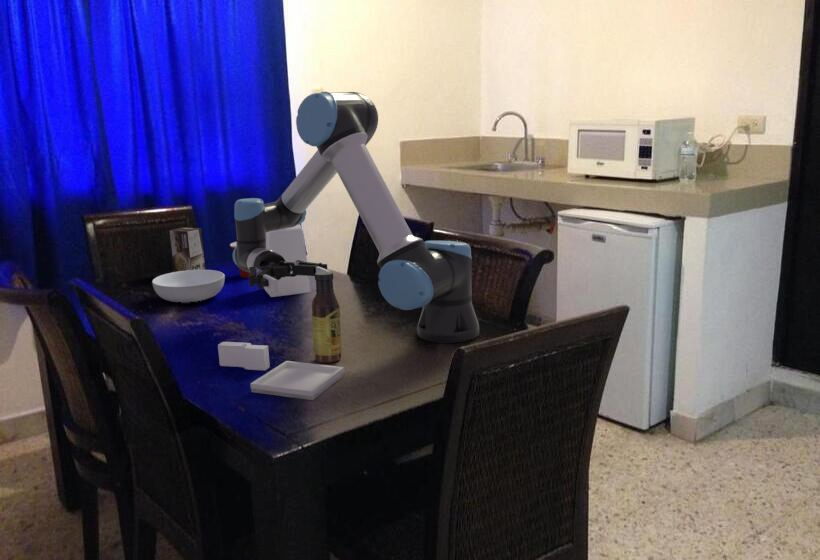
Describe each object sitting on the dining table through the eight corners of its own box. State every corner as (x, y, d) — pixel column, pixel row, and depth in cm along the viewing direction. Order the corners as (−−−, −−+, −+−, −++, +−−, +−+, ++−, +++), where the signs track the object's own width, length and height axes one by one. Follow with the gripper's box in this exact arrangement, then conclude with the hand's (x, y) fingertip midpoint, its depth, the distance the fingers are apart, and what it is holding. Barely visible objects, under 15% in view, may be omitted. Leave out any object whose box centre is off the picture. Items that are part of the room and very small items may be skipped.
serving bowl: (140, 307, 215) (137, 284, 213) (178, 289, 234) (176, 268, 233) (205, 310, 210) (202, 286, 208) (238, 292, 229) (236, 270, 228)
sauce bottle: (337, 364, 162) (332, 276, 158) (310, 363, 164) (304, 276, 159) (346, 355, 169) (341, 270, 164) (319, 353, 170) (314, 269, 165)
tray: (344, 375, 156) (344, 367, 156) (312, 400, 143) (312, 391, 143) (286, 368, 161) (286, 360, 161) (251, 392, 148) (250, 383, 148)
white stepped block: (207, 366, 165) (204, 342, 164) (253, 354, 172) (251, 331, 171) (236, 385, 154) (233, 359, 152) (284, 372, 160) (282, 347, 159)
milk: (301, 284, 236) (296, 203, 230) (310, 292, 226) (304, 207, 220) (264, 288, 232) (257, 206, 226) (271, 297, 222) (264, 210, 216)
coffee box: (206, 274, 254) (202, 228, 250) (192, 278, 249) (187, 231, 245) (188, 272, 259) (183, 226, 255) (173, 276, 254) (168, 229, 250)
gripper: (312, 272, 195) (351, 288, 178) (220, 286, 182) (253, 306, 165) (310, 244, 193) (350, 258, 176) (218, 257, 180) (251, 273, 163)
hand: (303, 281), depth 170 cm, fingers open, 13 cm apart
